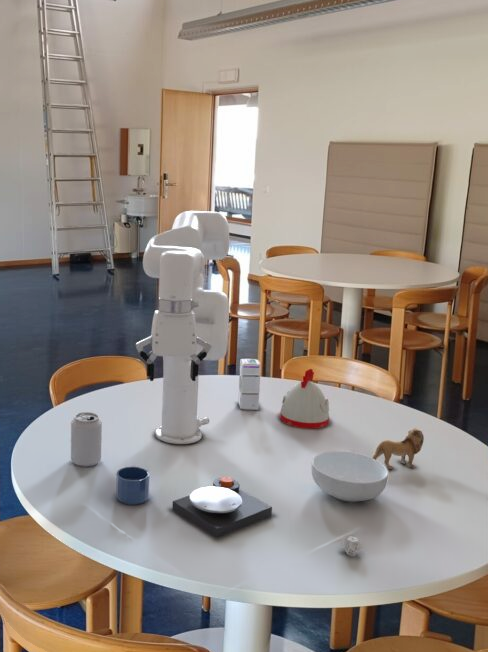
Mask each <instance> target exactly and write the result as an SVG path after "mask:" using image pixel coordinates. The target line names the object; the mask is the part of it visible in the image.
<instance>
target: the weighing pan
mask: <svg viewBox="0 0 488 652" xmlns="http://www.w3.org/2000/svg"><path fill="white" fill-rule="evenodd" d="M189 495H190V502H191V503H192V504H193V505H194V506H195V507H196V508H198V509H201V510H203V511H207V512H212V513H227V512H232V511H235V510H237V509H238V508H239V507H240V506H241V504H242V499H241V497H240V495H239V494H237V493H236V492H234V491H232V490H230V489H227V488H222V487H213V486H203V487H200V488H196V489H194V490H192V492H190V494H189Z"/></svg>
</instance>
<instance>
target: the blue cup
mask: <svg viewBox="0 0 488 652" xmlns="http://www.w3.org/2000/svg"><path fill="white" fill-rule="evenodd" d="M150 476H151V473H150V472H149V470H148V469H146V468H144V467H140V466H125V467H121V468H120V469H118V470H117V471H116V475H115V477H116V479H115V483H116V484H115V497H116V499H117V501H119V502H120V503H121V504H125V505H128V506H139V505H142V504H144V503H145V502H146V501H148V500H149V497H150V480H151V479H150V478H151V477H150Z"/></svg>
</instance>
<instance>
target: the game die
mask: <svg viewBox="0 0 488 652" xmlns="http://www.w3.org/2000/svg"><path fill="white" fill-rule="evenodd" d="M342 546H343V548H344V551H345V553H346V555H347V556H351V557H356V556H357V554H358V553H359V552H360V551H361V550H362V546H361V544H360V542H359V539H358V537H356V536H350V535H349V536H348V537H347V538H346V539H345V540H344V542H343V543H342Z"/></svg>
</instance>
